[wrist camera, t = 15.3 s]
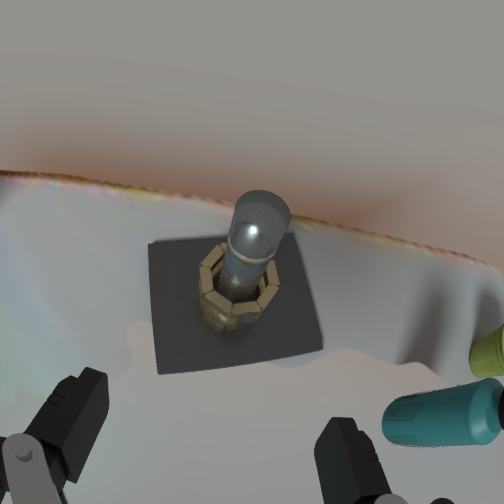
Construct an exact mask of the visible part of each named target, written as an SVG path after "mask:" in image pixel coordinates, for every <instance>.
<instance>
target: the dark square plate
mask: <svg viewBox="0 0 504 504" xmlns="http://www.w3.org/2000/svg"><path fill="white" fill-rule="evenodd" d="M227 238H228V235H227ZM227 238H214V239H202V240H189V241H177V242H165V243H153V244H148V258H149V282H150V299H151V313H152V325H153V335H154V345H155V353H156V363H157V371H158V374H159V375H163V374H175V373H185V372H195V371H203V370H211V369H219V368H227V367H234V366H240V365H246V364H253V363H259V362H265V361H271V360H276V359H281V358H287V357H292V356H297V355H302V354H306V353H311V352H316V351H320V350H322V349H323V345H322V341H321V337H320V333H319V329H318V325H317V320H316V317H315V313H314V309H313V305H312V301H311V297H310V293H309V289H308V286H307V282H306V278H305V274H304V271H303V267H302V263H301V260H300V256H299V252H298V249H297V245H296V242H295V238H294V235H293V233H284V235H283V237H282V239H281V241H280V243H279V245H278V248H277V250H276V252H275V254H274V256H273V257H272V258H271V260H270V262H269V264H268V266H267V268H266V270H265V272H264V274H263V276H262V278H261V279H260V281H259V283H258V285H257V287H256V289H255V291H254V293H253V295H252V297H251V299H250V300H249V302H245V303H236V304H232V303H231V302H230V301H228V300H227V299H225V298H224V297H223V296H221V295H220V294H219V293H217V288H218V283H219V278H220V274H221V269H222V264H223V260H224V255H225V250H226V246H227Z"/></svg>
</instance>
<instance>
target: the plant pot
mask: <svg viewBox="0 0 504 504" xmlns="http://www.w3.org/2000/svg"><path fill="white" fill-rule="evenodd" d="M469 361H470V367H471V370H472V372H473V373H474V375H476V376H478V377H491V376H501V375H504V324H502V325H501V327H500V328H498V329H497V330H495V331H494V332H492V333H491V334H489V335H488V336H486V337H484V338H483V339H481V340H479V341H478V342H476V343H475V344H474V345H473V346H472V348H471V355H470V359H469Z"/></svg>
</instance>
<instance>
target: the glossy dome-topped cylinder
mask: <svg viewBox="0 0 504 504" xmlns="http://www.w3.org/2000/svg"><path fill="white" fill-rule="evenodd" d="M290 218H291V216H290V210H289V208H288V206H287V204H286V203H285V202H284V201H283V200H282V199H281V198H280V197H279V196H277V195H275V194H273V193H271V192H268V191H263V190H254V191H250V192H247V193H245V194H243V195H242V196H241V197H240V198H239V199H238V201H237V203H236V206H235V210H234V214H233V219H232V223H231V227H230V230H229V234H228V238H227V246H226V250H225V255H224V260H223V264H222V269H221V274H220V278H219V283H218V288H217V293H219V294H220V295H221V296H223V297H224V298H225V299H227V300H228V301H230V302H231V303H232V304H236V303H245V302H249V300H250V299H251V297H252V295H253V293H254V291H255V289H256V287H257V285H258V283H259V281H260V279H261V278H262V276H263V274H264V272H265V270H266V268H267V266H268V264H269V262H270V260H271V258H272V257H273V256H274V254H275V252H276V250H277V248H278V245H279V243H280V241H281V239H282V237H283V235H284V233H285V231H286V229H287V227H288V225H289V223H290Z"/></svg>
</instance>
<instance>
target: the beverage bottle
mask: <svg viewBox="0 0 504 504" xmlns="http://www.w3.org/2000/svg"><path fill="white" fill-rule="evenodd" d="M456 386H457V387H451V388H447V389H442V390H437V391H432V392H427V393H422V394H415V395H410V396H403V397H399V398H398V399H396V400H394V401H393V402H392V403H391V404H390V405H389V406H388V407H387V408H386V410H385V412H384V415H383V419H382V431H383V433H384V436H385V437H386V438H387V439H388V441H390V442H392V443H394V444H398V445H403V446H404V445H406V446H407V445H413V446H414V447H415V446H423V447H425V446H431V447H432V446H439V447H440V446H460V445H486V444H488V443H490V442H492V441H493V440H494V439H495V438H496V437H497V435H498V434H499V433H500V431H501V430H502V429H503V430H504V387H503V385H502V384H501V383H500V382H499V381H498V380H496V379H494V378H486V379H483V380H481V381H478V382H474V383H470V384H466V385H462V386H459V385H456Z"/></svg>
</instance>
